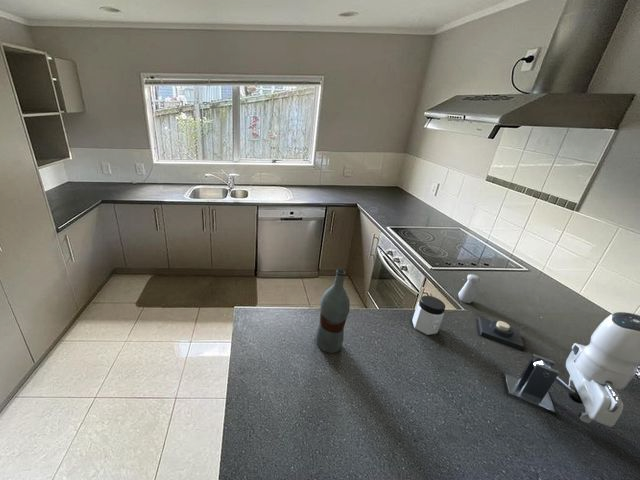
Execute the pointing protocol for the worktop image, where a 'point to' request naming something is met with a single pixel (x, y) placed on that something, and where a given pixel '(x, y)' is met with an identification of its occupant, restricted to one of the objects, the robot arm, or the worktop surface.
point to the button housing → (500, 334)
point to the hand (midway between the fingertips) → (576, 405)
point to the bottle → (333, 315)
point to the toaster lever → (563, 385)
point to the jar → (428, 315)
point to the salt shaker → (469, 289)
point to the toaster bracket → (534, 383)
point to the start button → (502, 326)
